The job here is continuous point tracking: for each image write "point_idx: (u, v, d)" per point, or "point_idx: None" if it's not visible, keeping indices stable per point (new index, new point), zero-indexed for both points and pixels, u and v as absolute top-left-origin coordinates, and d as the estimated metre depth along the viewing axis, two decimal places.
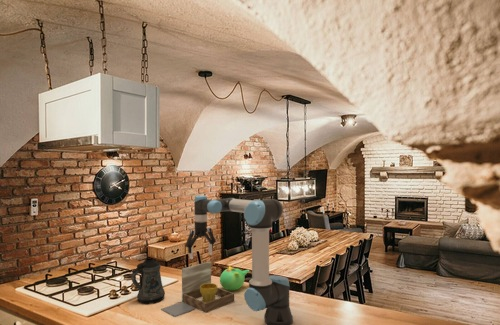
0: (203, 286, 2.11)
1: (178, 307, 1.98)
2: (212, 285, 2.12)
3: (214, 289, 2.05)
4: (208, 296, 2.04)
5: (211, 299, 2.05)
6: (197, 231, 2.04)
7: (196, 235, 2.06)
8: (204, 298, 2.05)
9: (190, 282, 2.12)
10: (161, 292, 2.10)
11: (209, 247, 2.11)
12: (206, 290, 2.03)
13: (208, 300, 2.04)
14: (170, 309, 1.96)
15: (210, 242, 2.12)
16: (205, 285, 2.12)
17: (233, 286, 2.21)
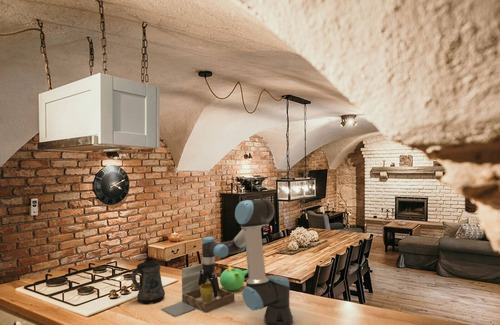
0: (203, 286, 2.11)
1: (178, 307, 1.98)
2: None
3: None
4: (208, 296, 2.04)
5: (211, 299, 2.05)
6: (204, 271, 2.09)
7: None
8: (204, 298, 2.05)
9: (190, 282, 2.12)
10: (161, 292, 2.10)
11: None
12: (206, 290, 2.03)
13: (208, 300, 2.04)
14: (170, 309, 1.96)
15: None
16: (205, 285, 2.12)
17: (233, 286, 2.21)
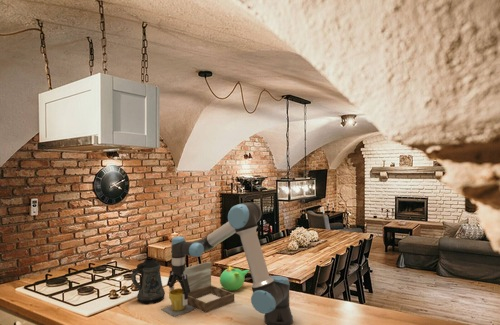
0: (173, 292, 2.00)
1: None
2: None
3: None
4: (177, 303, 1.93)
5: (181, 305, 1.94)
6: (173, 273, 1.99)
7: None
8: (173, 304, 1.94)
9: (190, 282, 2.12)
10: (161, 292, 2.10)
11: None
12: (175, 296, 1.92)
13: (177, 306, 1.93)
14: (170, 309, 1.96)
15: None
16: (175, 290, 2.01)
17: (233, 286, 2.21)
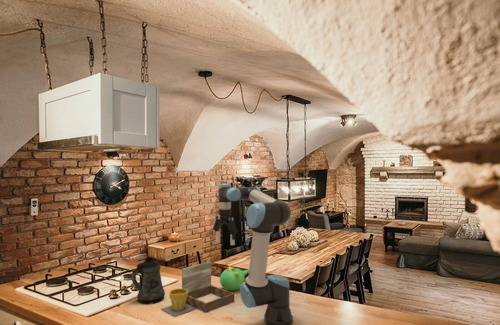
0: (173, 292, 2.00)
1: None
2: (183, 290, 2.01)
3: (184, 295, 1.94)
4: (177, 303, 1.93)
5: (181, 305, 1.94)
6: (220, 217, 2.13)
7: None
8: (173, 304, 1.94)
9: (190, 282, 2.12)
10: (161, 292, 2.10)
11: None
12: (175, 296, 1.92)
13: (177, 306, 1.93)
14: (170, 309, 1.96)
15: None
16: (175, 290, 2.01)
17: (233, 286, 2.21)
